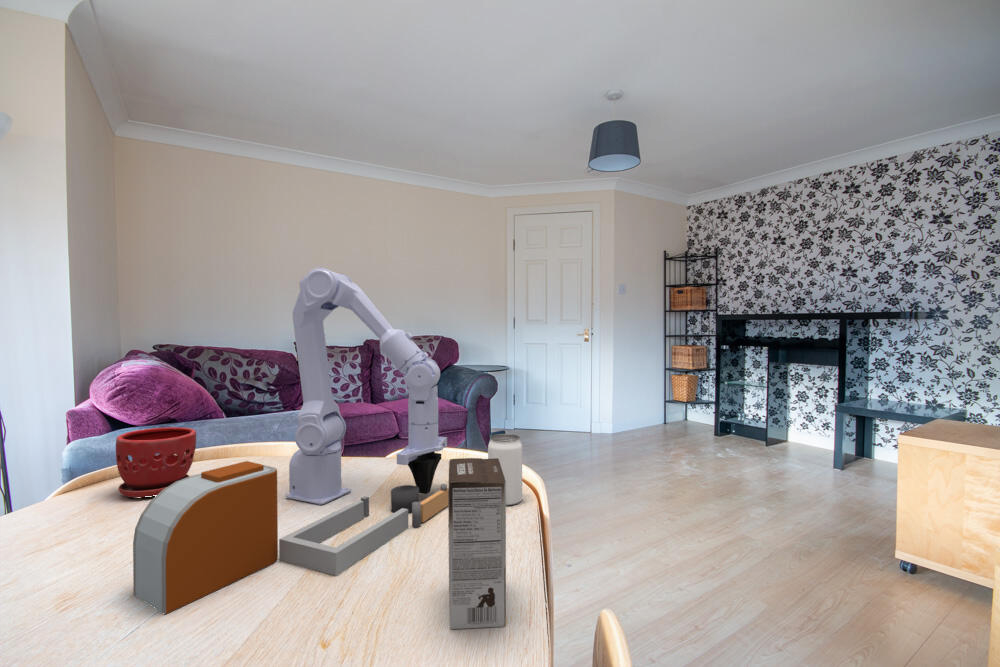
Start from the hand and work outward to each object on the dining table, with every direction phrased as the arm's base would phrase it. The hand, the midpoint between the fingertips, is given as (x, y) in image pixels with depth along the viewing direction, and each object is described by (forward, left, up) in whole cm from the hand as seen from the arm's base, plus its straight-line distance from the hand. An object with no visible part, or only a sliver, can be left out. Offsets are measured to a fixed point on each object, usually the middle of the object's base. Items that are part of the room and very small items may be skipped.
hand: (423, 492), depth 89 cm
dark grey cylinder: (0, -6, -1) cm, 6 cm away
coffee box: (+25, -27, -1) cm, 37 cm away
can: (+15, +5, -1) cm, 16 cm away
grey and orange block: (-10, -35, -1) cm, 36 cm away
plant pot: (-52, -18, -1) cm, 55 cm away
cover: (+6, -7, -1) cm, 9 cm away
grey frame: (0, -20, -1) cm, 20 cm away
